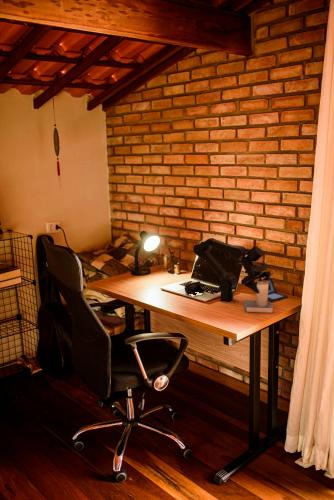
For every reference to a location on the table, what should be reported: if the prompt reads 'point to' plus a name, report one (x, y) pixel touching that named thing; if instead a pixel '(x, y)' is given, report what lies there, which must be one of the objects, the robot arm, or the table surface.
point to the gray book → (257, 307)
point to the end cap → (194, 288)
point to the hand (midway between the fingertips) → (264, 291)
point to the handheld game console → (273, 293)
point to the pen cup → (262, 293)
